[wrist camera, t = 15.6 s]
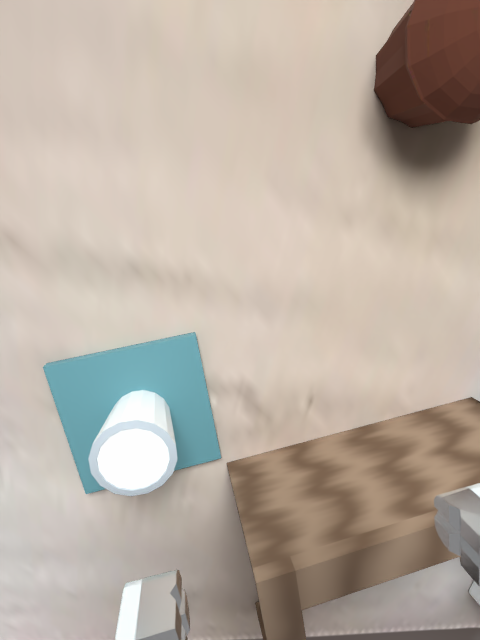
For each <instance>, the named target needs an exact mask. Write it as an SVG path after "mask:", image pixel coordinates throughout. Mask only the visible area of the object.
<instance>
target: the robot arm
mask: <svg viewBox="0 0 480 640" xmlns="http://www.w3.org/2000/svg"><path fill="white" fill-rule="evenodd" d="M434 506H435V507H436V509H437V510H438V512H437V514H436V515H435V517H434V520H435V528H436V530H437V533H438V535H439V537H440V539H441V541H442V542H443V544H444V545H445V546H446V547H447V549H448V550H449V551H450V552H452V553H454V554H456V555H458V556H460V562H461V566H462V567H463V568H464V569H465V570H466V571H467V573H468V574H469V575H470V576H471V577H472V579H473V580H474V581H475V582H476V583H477V585H478V586H480V483H478V484H475V485H471V486H468V487H465V488H460V489H457V490H453V491H450V492H447V493H443V494H440V495H437V496H436V497H435V498H434ZM189 631H190V617H189V607H188V601H187V596H186V592H185V590H184V589H183V588H182V578H181V575H180V572H179V570H174V571H170V572H166V573H162V574H158V575H154V576H150V577H146V578H143V579H139V580H136V581H132V582H128V583H126V584H125V587H124V589H123V594H122V600H121V606H120V611H119V617H118V623H117V629H116V635H115V640H188V639H187V634H188V632H189Z"/></svg>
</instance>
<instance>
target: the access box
mask: <svg viewBox="0 0 480 640" xmlns="http://www.w3.org/2000/svg"><path fill="white" fill-rule="evenodd" d="M227 466H228V471H229V476H230V480H231V484H232V488H233V492H234V496H235V500H236V504H237V509H238V513H239V517H240V521H241V525H242V529H243V533H244V537H245V541H246V546H247V550H248V554H249V558H250V562H251V566H252V570H253V574H254V578H255V583H256V588H257V593H258V598H259V602H257V603H255V605H256V610H257V615H258V619H259V623H260V628H261V632H262V636H263V640H306V635H305V629H304V623H303V616H302V610H304V609H307V608H310V607H313V606H316V605H319V604H322V603H325V602H328V601H330V600H333V599H336V598H339V597H342V596H345V595H348V594H351V593H354V592H357V591H360V590H363V589H366V588H369V587H372V586H375V585H377V584H380V583H383V582H386V581H389V580H392V579H395V578H398V577H401V576H404V575H407V574H410V573H413V572H416V571H419V570H422V569H425V568H427V567H430V566H433V565H436V564H439V563H442V562H445V561H448V560H451V559H454V558H457V557H460V556H458V555H456V554H454V553H452V552H450V551H449V550H448V549H447V547H446V546H445V545H444V544H443V542H442V541H441V539H440V537H439V535H438V533H437V530H436V528H435V520H434V517H435V515H436V514H437V512H438V510H437V509H436V507H435V506H434V498H435V497H436V496H437V495H440V494H443V493H447V492H450V491H453V490H457V489H460V488H465V487H468V486H471V485H475V484H478V483H480V402H479V401H478V400H476V399H474V398H472V397H471V398H467V399H464V400H460V401H456V402H452V403H449V404H445V405H441V406H437V407H434V408H430V409H426V410H423V411H419V412H415V413H411V414H408V415H404V416H400V417H396V418H393V419H389V420H385V421H381V422H378V423H374V424H370V425H367V426H363V427H359V428H355V429H352V430H348V431H344V432H340V433H337V434H333V435H329V436H326V437H322V438H318V439H314V440H311V441H307V442H303V443H299V444H296V445H292V446H288V447H285V448H281V449H277V450H273V451H270V452H266V453H262V454H258V455H255V456H251V457H247V458H244V459H240V460H236V461H232V462H229V463H227Z"/></svg>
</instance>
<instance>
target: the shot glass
mask: <svg viewBox="0 0 480 640" xmlns="http://www.w3.org/2000/svg"><path fill="white" fill-rule="evenodd" d="M88 460H89V465H90V470H91V474H92V475H93V477H94V478H95V479H96V481H97V482H98V483H99V485H100V486H102V487H103V488H105V489H107V490H109V491H111V492H112V493H114V494H120V495H127V496H135V495H140V494H146V493H149V492H151V491H153V490H155V489H156V488H158V487H160V486H162V485H163V484H164V483H165V482H166V481H167V479H168V478H169V477H170V476H171V475H172V474H173V471H174V468H175V465H176V462H177V450H176V443H175V437H174V432H173V426H172V420H171V414H170V409H169V406H168V405H167V403H166V401H165V400H164V398H162V397H161V396H159V395H158V394H156V393H155V392H150V391H146V390H140V391H132V392H130V393H128V394H126V395H124V396H122V397H121V398H120V399H119V401H118V402H117V403H116V404H115V405H114V407H113V409H112V411H111V412H110V414H109V416H108V418H107V419H106V421H105V423H104V425H103V426H102V428H101V430H100V432H99V433H98V435H97V437H96V439H95V440H94V442H93V444H92V448H91V451H90V455H89V458H88Z"/></svg>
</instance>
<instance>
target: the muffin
mask: <svg viewBox="0 0 480 640" xmlns="http://www.w3.org/2000/svg"><path fill="white" fill-rule="evenodd" d="M374 91H375V92H376V94H377V96H378V97H379V99H380V100H381V102H382V104H383V106H384V109H385V111H386V114H387V116H388V117H389V118H392V119H395V120H398V121H401V122H403V123H404V124H406V125H408V126H409V127H411V128H413V127H419V126H424V125H429V124H434V123H440V122H445V121H453V122H460V123H468V124H472V123H475V122H477V121H479V120H480V0H415V1H414V3H413V4H412V5H411V7H410V8H409V9H408V11H407V12H406V13H405V14H404V16H403V17H402V18H401V20H400V21H399V22H398V24H397V25H396V26H395V28H394V29H393V31H392V33H391V35H390V37H389V39H388V40H387V42H386V43H385V45H384V46H383V47H382V48H381V50H380V51H379V52H378V54H377V55H376V78H375V86H374Z"/></svg>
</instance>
